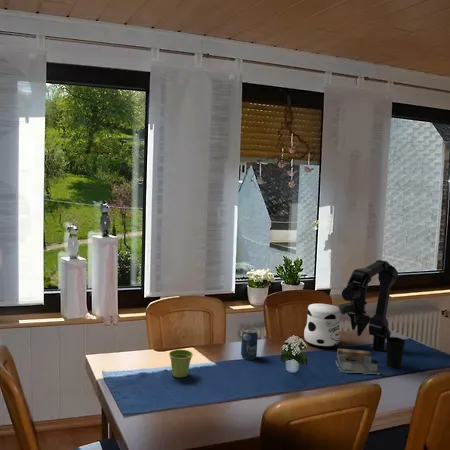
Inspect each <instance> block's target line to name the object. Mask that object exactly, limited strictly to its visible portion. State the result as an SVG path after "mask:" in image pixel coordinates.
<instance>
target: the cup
mask: <svg viewBox="0 0 450 450" xmlns="http://www.w3.org/2000/svg"><path fill="white" fill-rule="evenodd" d="M385 342H386V349H387V351H386V366H388V368H389V367H391V368H390V369H392V368H399V369H401V365H402V360H403V354H404V349H405V344H406V341H405V339H403V338H401V337H397V336H396V337H395V336H390V337H388V338H387V339H386V340H385Z"/></svg>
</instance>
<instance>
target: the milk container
mask: <svg viewBox="0 0 450 450" xmlns="http://www.w3.org/2000/svg"><path fill="white" fill-rule="evenodd" d="M306 313H307V315H306V325H305V327H304V331H303V332H304V333H303V336H304V341H306V343H308V344H310V345H311V346H315V347H320V348H332V347H336V346H338V345H339V344H340V341H341V336H342V335H341V330H340V329H341V328H340V322H341V313H340V310H339V307H338V306H336V305H334V304H327V303H312V304H311V303H310V304H309V305H308V307H307V312H306Z"/></svg>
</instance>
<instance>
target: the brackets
mask: <svg viewBox="0 0 450 450" xmlns="http://www.w3.org/2000/svg"><path fill="white" fill-rule="evenodd" d="M372 358H373V357H372V355H370V356H364V362H362V361H351V360H346V355H339V358H338V359H336V360H335V362H336V363H335V364H336V366H337V368H338V367H339V368H338V370H339V369H340V370H339V371H341V372H345V373H344V374H347V373H364V374H363V375H367V374H377V375H376V376H380V375H381V372H380V371H379V370H378V363H374V362H373V361H372ZM341 372H340V373H341Z"/></svg>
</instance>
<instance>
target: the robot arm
mask: <svg viewBox="0 0 450 450" xmlns="http://www.w3.org/2000/svg"><path fill="white" fill-rule="evenodd" d="M377 274H378V275H377ZM376 275H377V276H378V277H377V278H378V281H379V284H380V286H379V292H378V297H377V302H376V303H377V304H376V309H375V314H374V315H373V316H372V317H370V316H369V315H368V314H367V311H366V305H367V304H368V302H367V301H366V300H367V293H368V291H367V290H368V289H369V288H370V285H368V284H369V283H370V282H371V281H372V278H373V277H374V276H376ZM398 275H399V272H398V270H397V268H396V267H394V266H393V265H391V264H390V263H389V262H388V261H387V260H383V259H377V260H376V261H375V262H374V263H371V264H370V265H368V266H366V267H363V268H356V269H354V270H353V271H352V273H351V275H350V277H349V279H348V281H347V284H346V287H345V288H344V289H342V291H341V297H342V298H343V299H344V300H345V301H346V302H345V303H342V304H339V305H338V306H337V307H338V308H339V310H340V315H346V314H347V315H348V317H349V320H350V326H351V330H353V331H354V330H355V329H356V333H357V336H358V337H360V336H362V334H363V332H364V330H365V329H366V327H367V326H368V335H369V336H370V335H371V336H373V337H372V344H369V345H370V346H369V347H371V349H372V350H373V351H379V352H380V351H381V352H382V351H383V352H387V347H386V339H387V338H388V337H391V334H392V333H391V331H390V329H389V328H390V327H389V322H388V319H387V310H388V306H389V301H390V295H391V288H392V287H393V286H394V284H395V283H396V281H397V278H398Z"/></svg>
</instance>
